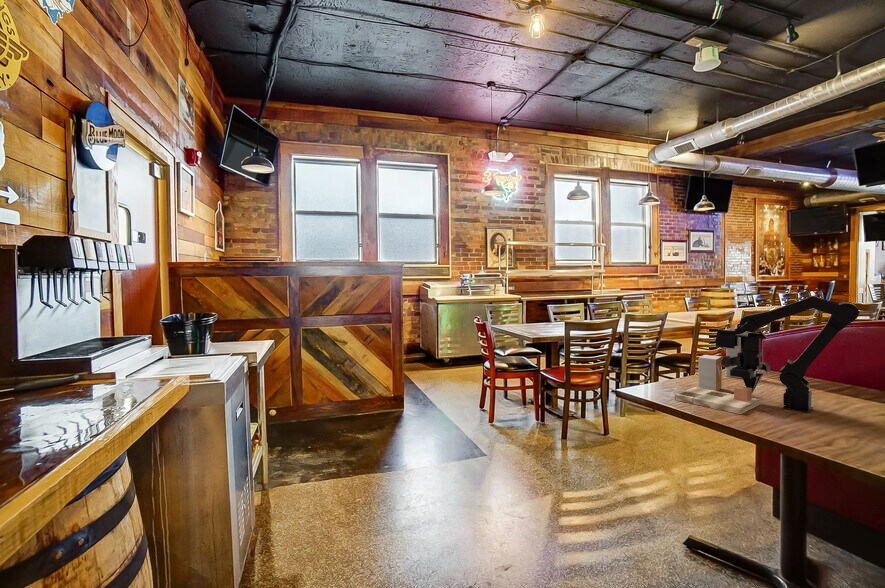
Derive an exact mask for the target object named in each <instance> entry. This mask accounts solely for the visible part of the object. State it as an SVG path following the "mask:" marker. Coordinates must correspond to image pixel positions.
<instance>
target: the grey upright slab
mask: <svg viewBox="0 0 885 588" xmlns="http://www.w3.org/2000/svg"><path fill="white" fill-rule="evenodd" d="M738 327H739V326H738ZM738 327H730V328H727V330H735V329H736V328H738ZM748 333H752V332H747V331H746V332H744V333H742V334H738V335H748ZM739 352H741V337H739V346H736V347H735V349H732V348H726V353H725V354H726V356H730V357H734V356H737V354H738V353H739ZM734 367H737V365H735V366H729V367H727V368H725V367H724V369H725V370H724V371H725V372H724V373H725V375H724V376H725V377H726V378H733V379H734V378H735V379H742V378H741V377H735V376H730V370H731V369H732V368H734Z"/></svg>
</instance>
